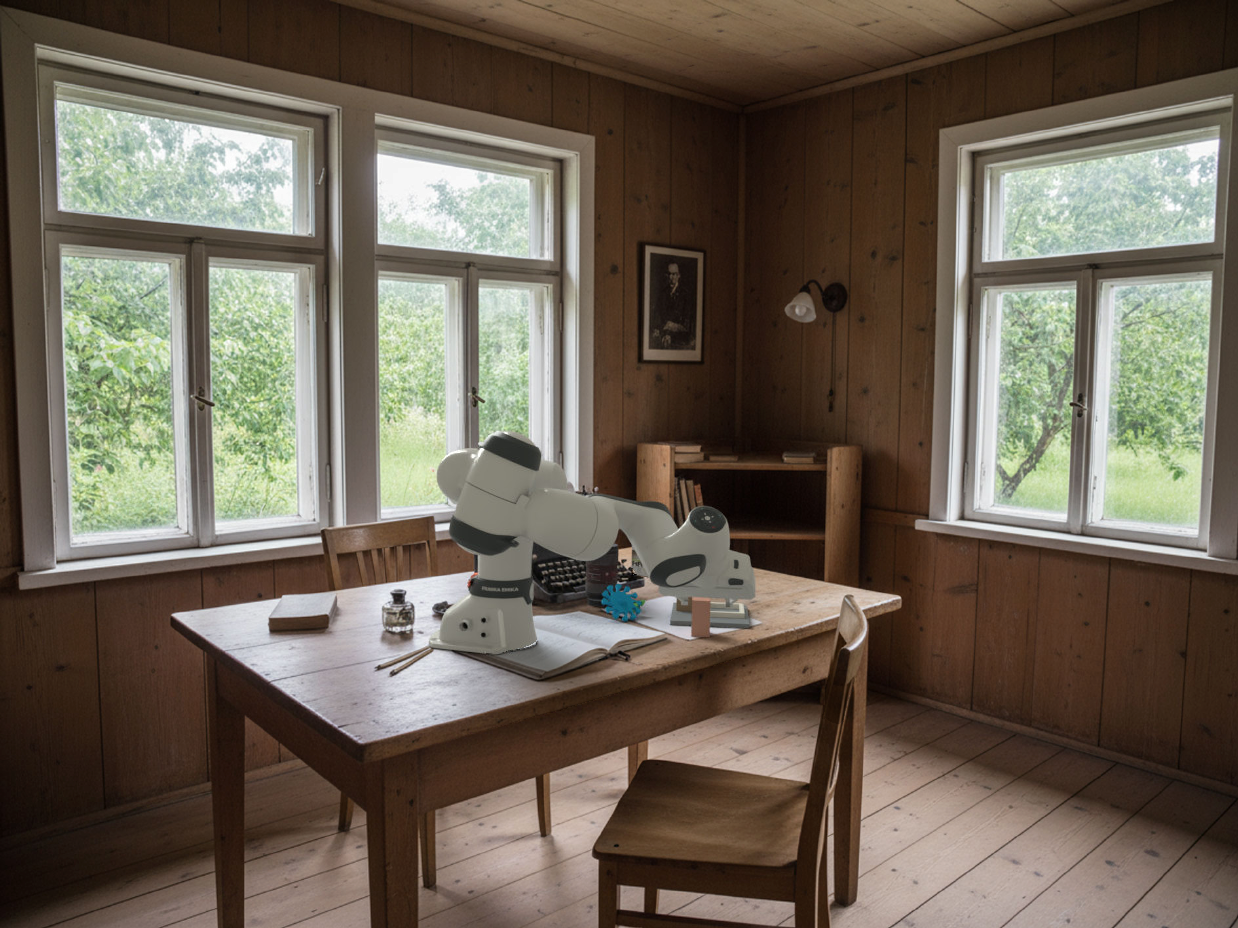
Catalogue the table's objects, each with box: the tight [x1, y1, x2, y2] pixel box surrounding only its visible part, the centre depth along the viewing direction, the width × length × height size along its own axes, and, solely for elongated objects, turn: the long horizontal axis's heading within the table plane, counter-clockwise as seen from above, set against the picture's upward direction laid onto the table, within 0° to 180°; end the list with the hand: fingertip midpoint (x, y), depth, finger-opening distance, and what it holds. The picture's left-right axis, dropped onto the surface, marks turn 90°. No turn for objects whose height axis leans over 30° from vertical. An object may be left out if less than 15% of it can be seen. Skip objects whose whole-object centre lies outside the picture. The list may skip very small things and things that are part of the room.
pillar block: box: [690, 597, 712, 638], centre depth 206 cm, size 4×4×8 cm
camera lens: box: [584, 543, 620, 607], centre depth 233 cm, size 8×8×15 cm
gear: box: [602, 583, 646, 623], centre depth 220 cm, size 11×6×10 cm
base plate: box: [669, 597, 751, 629], centre depth 221 cm, size 18×18×7 cm
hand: (706, 603), depth 200 cm, fingers open, 8 cm apart
